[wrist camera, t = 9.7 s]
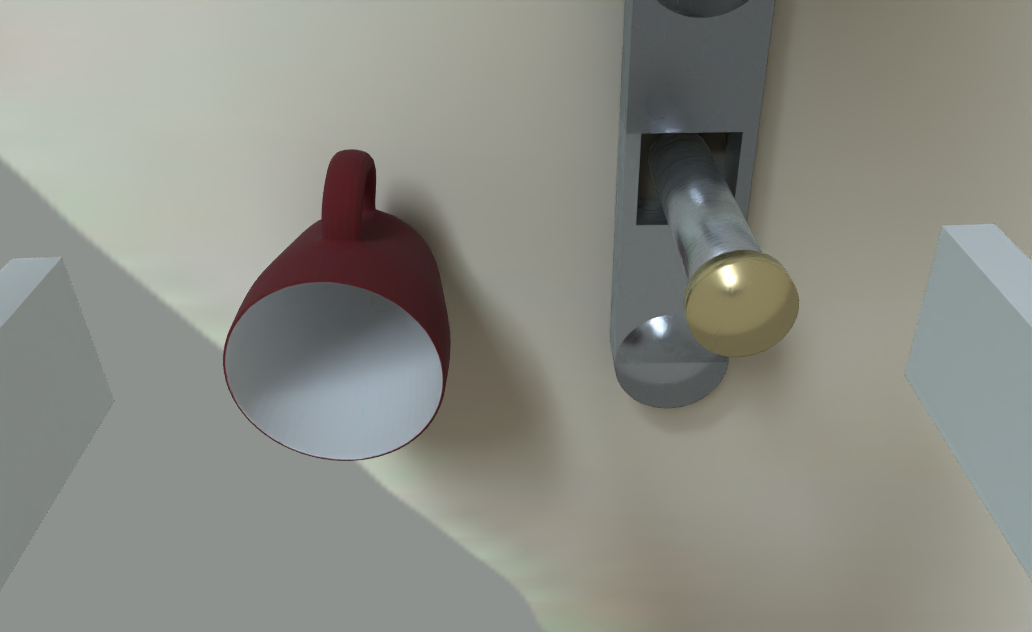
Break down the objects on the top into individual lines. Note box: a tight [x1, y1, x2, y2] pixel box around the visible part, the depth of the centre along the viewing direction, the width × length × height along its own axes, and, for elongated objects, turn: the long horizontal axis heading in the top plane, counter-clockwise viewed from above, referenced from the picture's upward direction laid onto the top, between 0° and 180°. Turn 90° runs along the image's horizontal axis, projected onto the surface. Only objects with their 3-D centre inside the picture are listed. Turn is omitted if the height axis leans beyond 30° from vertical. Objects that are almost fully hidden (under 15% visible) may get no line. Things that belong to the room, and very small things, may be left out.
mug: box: [223, 150, 450, 461], centre depth 36 cm, size 10×8×10 cm
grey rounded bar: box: [610, 0, 775, 408], centre depth 37 cm, size 23×5×2 cm, turn 1°
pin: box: [648, 133, 799, 357], centre depth 33 cm, size 3×3×13 cm
